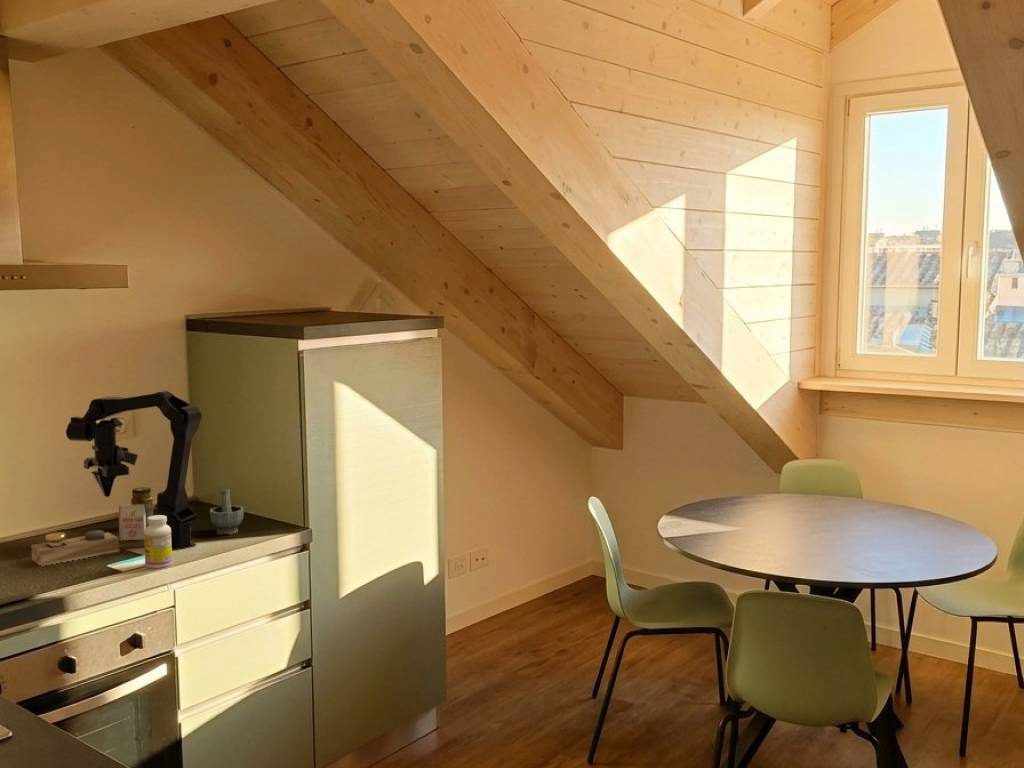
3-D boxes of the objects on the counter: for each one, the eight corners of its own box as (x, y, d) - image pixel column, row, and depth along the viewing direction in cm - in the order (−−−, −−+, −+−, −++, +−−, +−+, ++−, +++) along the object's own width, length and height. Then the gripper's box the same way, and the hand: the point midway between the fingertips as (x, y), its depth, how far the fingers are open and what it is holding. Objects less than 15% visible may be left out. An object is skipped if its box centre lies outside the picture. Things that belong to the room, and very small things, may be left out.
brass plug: (68, 550, 257) (68, 535, 257) (49, 553, 254) (49, 538, 254) (62, 546, 261) (62, 531, 260) (43, 550, 258) (43, 534, 257)
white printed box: (121, 538, 279) (120, 504, 278) (146, 537, 281) (145, 503, 280) (119, 541, 276) (117, 507, 275) (144, 540, 277) (143, 506, 276)
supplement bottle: (144, 563, 255) (142, 515, 253) (171, 560, 257) (169, 513, 256) (145, 570, 249) (144, 521, 247) (173, 567, 251) (171, 518, 250)
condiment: (150, 524, 296) (149, 485, 295) (160, 529, 289) (159, 490, 288) (126, 527, 291) (124, 488, 290) (135, 533, 285) (134, 493, 284)
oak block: (119, 552, 265) (118, 537, 264) (41, 566, 251) (40, 551, 251) (108, 546, 271) (107, 532, 270) (31, 559, 257) (31, 545, 257)
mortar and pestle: (244, 535, 283) (243, 494, 282) (211, 537, 280) (210, 496, 279) (242, 525, 294) (241, 486, 293) (209, 528, 291) (208, 488, 290)
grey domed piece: (107, 547, 264) (106, 532, 264) (89, 551, 261) (88, 535, 260) (100, 544, 268) (100, 529, 267) (82, 547, 264) (82, 532, 264)
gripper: (146, 443, 271) (148, 497, 273) (121, 435, 285) (123, 487, 287) (106, 447, 264) (108, 503, 265) (82, 439, 277) (84, 492, 279)
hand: (107, 496), depth 274 cm, fingers closed
